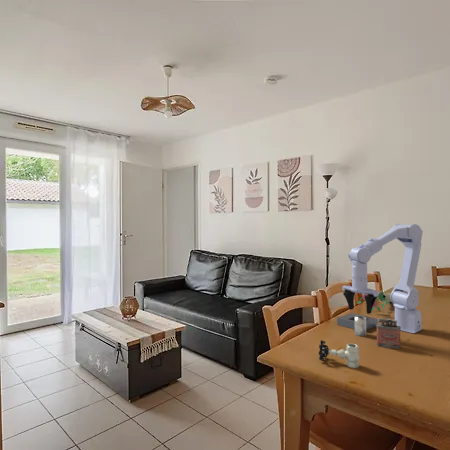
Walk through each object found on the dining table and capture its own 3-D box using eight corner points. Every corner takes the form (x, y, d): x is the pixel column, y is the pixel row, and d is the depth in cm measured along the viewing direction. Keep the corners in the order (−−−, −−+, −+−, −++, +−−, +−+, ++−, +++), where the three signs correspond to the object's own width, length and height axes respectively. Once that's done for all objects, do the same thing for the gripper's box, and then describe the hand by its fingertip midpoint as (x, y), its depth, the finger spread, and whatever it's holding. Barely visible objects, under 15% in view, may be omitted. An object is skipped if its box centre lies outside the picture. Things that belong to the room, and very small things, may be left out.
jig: (377, 325, 142) (377, 318, 142) (362, 331, 134) (362, 324, 134) (352, 319, 151) (352, 312, 151) (337, 324, 144) (337, 317, 144)
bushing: (368, 334, 131) (368, 317, 131) (362, 337, 128) (362, 319, 128) (358, 331, 135) (358, 314, 135) (352, 334, 132) (352, 316, 132)
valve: (360, 363, 106) (323, 356, 112) (360, 343, 106) (322, 337, 111) (358, 371, 100) (318, 363, 106) (358, 350, 100) (318, 343, 106)
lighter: (400, 345, 119) (399, 318, 119) (401, 349, 116) (401, 321, 116) (375, 343, 122) (375, 316, 122) (376, 346, 119) (376, 319, 119)
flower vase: (396, 317, 178) (377, 318, 152) (374, 306, 186) (352, 305, 160) (404, 297, 177) (387, 294, 151) (382, 287, 185) (361, 283, 159)
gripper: (337, 276, 135) (338, 309, 135) (371, 281, 123) (372, 317, 123) (347, 274, 139) (348, 306, 139) (381, 279, 127) (381, 313, 127)
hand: (360, 311), depth 131 cm, fingers open, 7 cm apart
